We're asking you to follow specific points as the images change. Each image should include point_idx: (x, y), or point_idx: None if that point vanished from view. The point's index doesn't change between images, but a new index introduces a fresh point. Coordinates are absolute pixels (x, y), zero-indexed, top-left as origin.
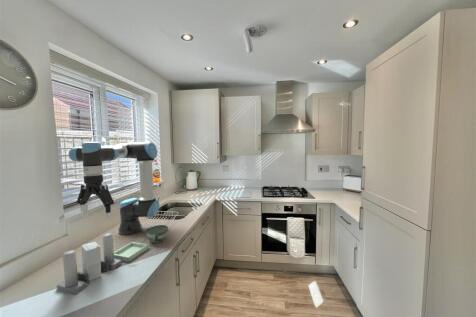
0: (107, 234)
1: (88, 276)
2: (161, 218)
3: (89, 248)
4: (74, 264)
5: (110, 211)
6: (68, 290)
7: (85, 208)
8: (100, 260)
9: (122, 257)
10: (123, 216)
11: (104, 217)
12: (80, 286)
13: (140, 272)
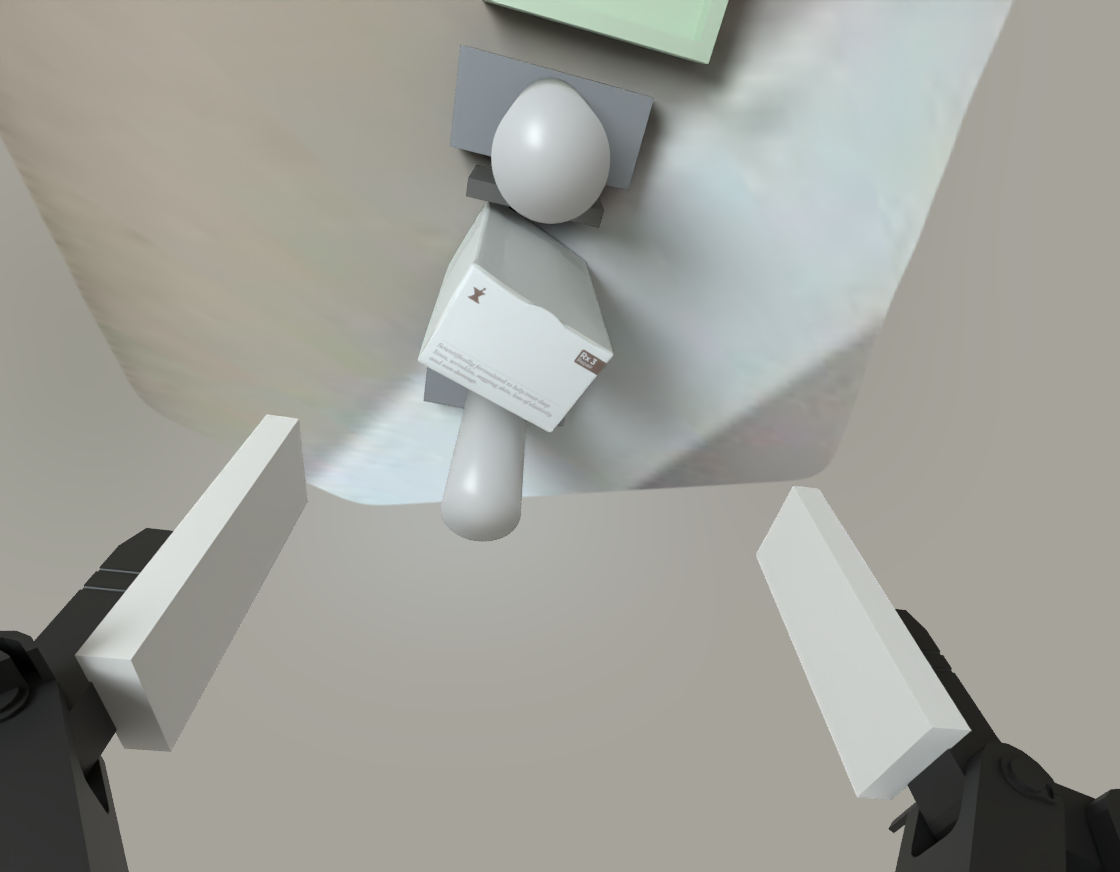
0: (536, 145)
1: None
2: None
3: (544, 399)
4: (523, 459)
5: (917, 625)
6: None
7: (219, 604)
8: (597, 304)
9: (635, 43)
10: None
11: (782, 593)
12: None
13: (851, 209)
